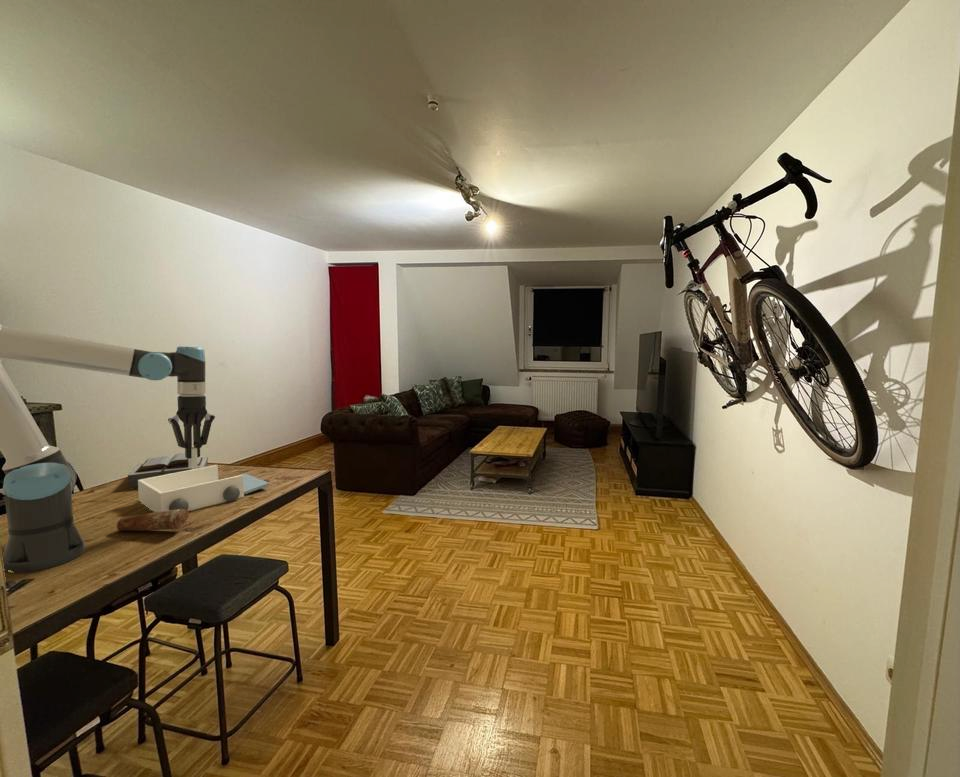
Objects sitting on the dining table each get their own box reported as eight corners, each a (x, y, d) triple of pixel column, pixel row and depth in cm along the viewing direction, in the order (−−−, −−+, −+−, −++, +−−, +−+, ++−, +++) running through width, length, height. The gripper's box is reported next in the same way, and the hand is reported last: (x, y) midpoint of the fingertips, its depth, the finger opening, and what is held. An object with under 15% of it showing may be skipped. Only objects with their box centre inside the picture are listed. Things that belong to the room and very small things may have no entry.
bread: (180, 533, 126) (175, 516, 124) (114, 535, 126) (108, 518, 125) (193, 520, 132) (189, 504, 130) (130, 522, 132) (125, 506, 130)
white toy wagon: (163, 519, 137) (162, 494, 136) (137, 501, 152) (136, 479, 152) (246, 497, 157) (245, 476, 156) (216, 484, 172) (214, 464, 171)
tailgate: (243, 492, 159) (269, 482, 166) (219, 481, 171) (244, 473, 178) (243, 494, 159) (269, 485, 166) (219, 484, 171) (244, 475, 178)
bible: (200, 486, 170) (199, 461, 169) (117, 493, 162) (115, 467, 161) (217, 470, 192) (216, 448, 191) (144, 475, 184) (143, 452, 183)
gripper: (173, 397, 133) (174, 474, 134) (219, 394, 143) (219, 466, 145) (163, 395, 137) (164, 469, 139) (208, 393, 147) (209, 462, 149)
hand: (193, 467), depth 142 cm, fingers closed
